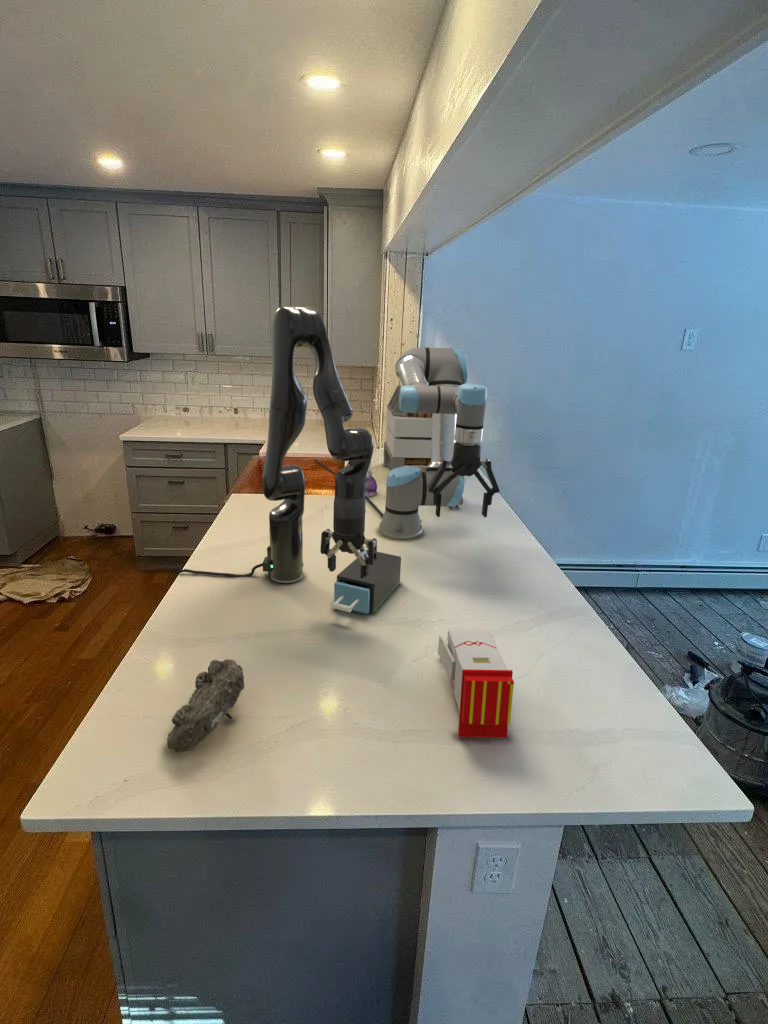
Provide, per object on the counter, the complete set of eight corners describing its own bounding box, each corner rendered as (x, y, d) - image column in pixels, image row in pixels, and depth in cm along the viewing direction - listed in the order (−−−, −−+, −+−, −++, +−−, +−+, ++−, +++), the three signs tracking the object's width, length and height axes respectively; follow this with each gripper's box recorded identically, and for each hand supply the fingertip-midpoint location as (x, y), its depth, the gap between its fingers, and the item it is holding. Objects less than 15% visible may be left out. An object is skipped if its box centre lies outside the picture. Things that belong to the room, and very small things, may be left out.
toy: (488, 613, 130) (523, 677, 101) (484, 667, 133) (517, 744, 104) (435, 612, 130) (455, 676, 101) (432, 666, 133) (451, 743, 103)
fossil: (192, 660, 117) (244, 628, 112) (224, 691, 120) (276, 661, 115) (142, 746, 98) (202, 712, 93) (182, 779, 101) (242, 748, 96)
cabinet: (373, 613, 147) (374, 584, 144) (336, 604, 151) (336, 575, 148) (399, 583, 164) (401, 556, 161) (365, 575, 168) (366, 549, 165)
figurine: (361, 499, 234) (363, 463, 229) (351, 491, 242) (352, 457, 237) (382, 496, 238) (383, 461, 233) (371, 489, 246) (372, 456, 241)
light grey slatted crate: (382, 463, 289) (386, 382, 275) (445, 464, 293) (451, 384, 279) (390, 482, 257) (394, 392, 243) (460, 483, 261) (468, 394, 247)
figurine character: (463, 514, 226) (458, 498, 239) (465, 496, 223) (460, 481, 236) (446, 513, 226) (442, 497, 239) (448, 496, 222) (444, 481, 236)
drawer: (357, 625, 140) (358, 601, 138) (323, 616, 143) (323, 593, 141) (393, 585, 161) (394, 564, 158) (362, 578, 164) (363, 557, 162)
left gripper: (315, 511, 134) (315, 573, 139) (370, 522, 129) (367, 586, 134) (330, 503, 140) (329, 562, 146) (383, 512, 135) (380, 574, 141)
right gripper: (425, 445, 150) (420, 520, 157) (516, 446, 153) (507, 520, 160) (420, 438, 157) (415, 510, 164) (507, 440, 160) (499, 511, 167)
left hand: (348, 573), depth 140 cm, fingers open, 8 cm apart
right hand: (460, 515), depth 162 cm, fingers open, 13 cm apart
